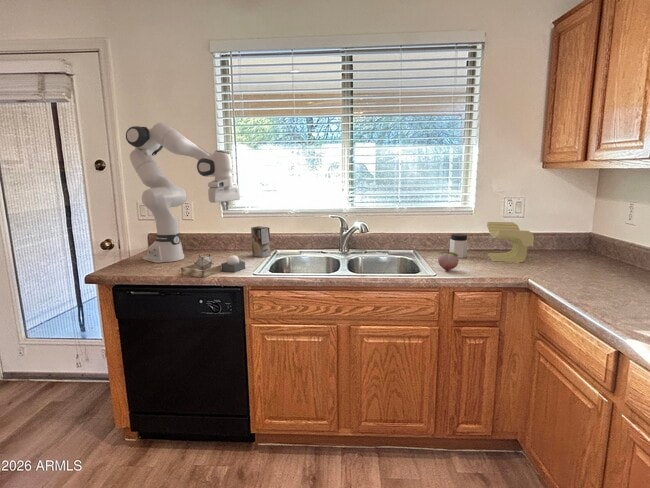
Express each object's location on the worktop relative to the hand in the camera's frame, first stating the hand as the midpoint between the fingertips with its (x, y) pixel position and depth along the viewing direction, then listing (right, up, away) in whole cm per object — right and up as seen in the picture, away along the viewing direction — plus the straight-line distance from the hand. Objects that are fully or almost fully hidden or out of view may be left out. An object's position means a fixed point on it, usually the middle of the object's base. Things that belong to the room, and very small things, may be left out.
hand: (225, 210), depth 200 cm
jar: (+124, -25, +11) cm, 127 cm away
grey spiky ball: (-6, -31, -15) cm, 35 cm away
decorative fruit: (+109, -30, -18) cm, 115 cm away
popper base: (+7, -30, -12) cm, 33 cm away
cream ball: (+7, -30, -12) cm, 33 cm away
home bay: (-7, -31, -18) cm, 36 cm away
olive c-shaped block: (+147, -26, +3) cm, 149 cm away
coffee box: (+16, -24, +18) cm, 34 cm away
